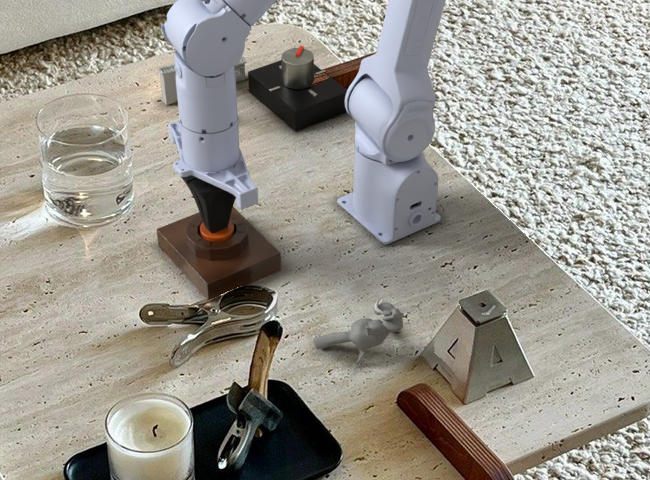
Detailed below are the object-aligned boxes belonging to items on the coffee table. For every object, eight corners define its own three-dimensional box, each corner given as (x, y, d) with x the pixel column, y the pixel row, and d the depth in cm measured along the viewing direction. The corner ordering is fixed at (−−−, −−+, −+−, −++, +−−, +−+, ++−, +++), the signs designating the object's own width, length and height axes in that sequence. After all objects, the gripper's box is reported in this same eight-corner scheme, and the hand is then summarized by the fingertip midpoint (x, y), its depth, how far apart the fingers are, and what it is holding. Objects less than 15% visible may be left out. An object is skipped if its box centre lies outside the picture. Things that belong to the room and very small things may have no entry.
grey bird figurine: (324, 313, 123) (408, 294, 120) (336, 369, 123) (420, 352, 120) (294, 315, 113) (384, 295, 110) (307, 377, 113) (398, 358, 110)
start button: (240, 242, 127) (240, 229, 125) (211, 254, 125) (210, 241, 124) (223, 225, 129) (222, 212, 127) (194, 237, 127) (193, 224, 126)
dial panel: (349, 112, 149) (350, 90, 147) (294, 132, 146) (294, 110, 143) (301, 73, 155) (301, 51, 153) (247, 92, 152) (246, 70, 150)
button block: (281, 270, 127) (280, 241, 124) (208, 301, 124) (206, 272, 121) (228, 217, 134) (226, 188, 131) (158, 246, 130) (154, 217, 127)
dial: (308, 91, 147) (308, 64, 144) (277, 86, 147) (277, 59, 145) (317, 75, 149) (317, 48, 147) (287, 70, 150) (286, 43, 147)
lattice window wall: (241, 74, 155) (239, 33, 151) (248, 81, 154) (246, 40, 150) (159, 101, 151) (155, 60, 147) (165, 108, 150) (161, 66, 145)
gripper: (137, 96, 119) (150, 205, 128) (210, 167, 110) (218, 278, 120) (198, 75, 122) (207, 183, 131) (274, 142, 113) (277, 253, 123)
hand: (216, 227), depth 126 cm, fingers closed, pressing on start button
